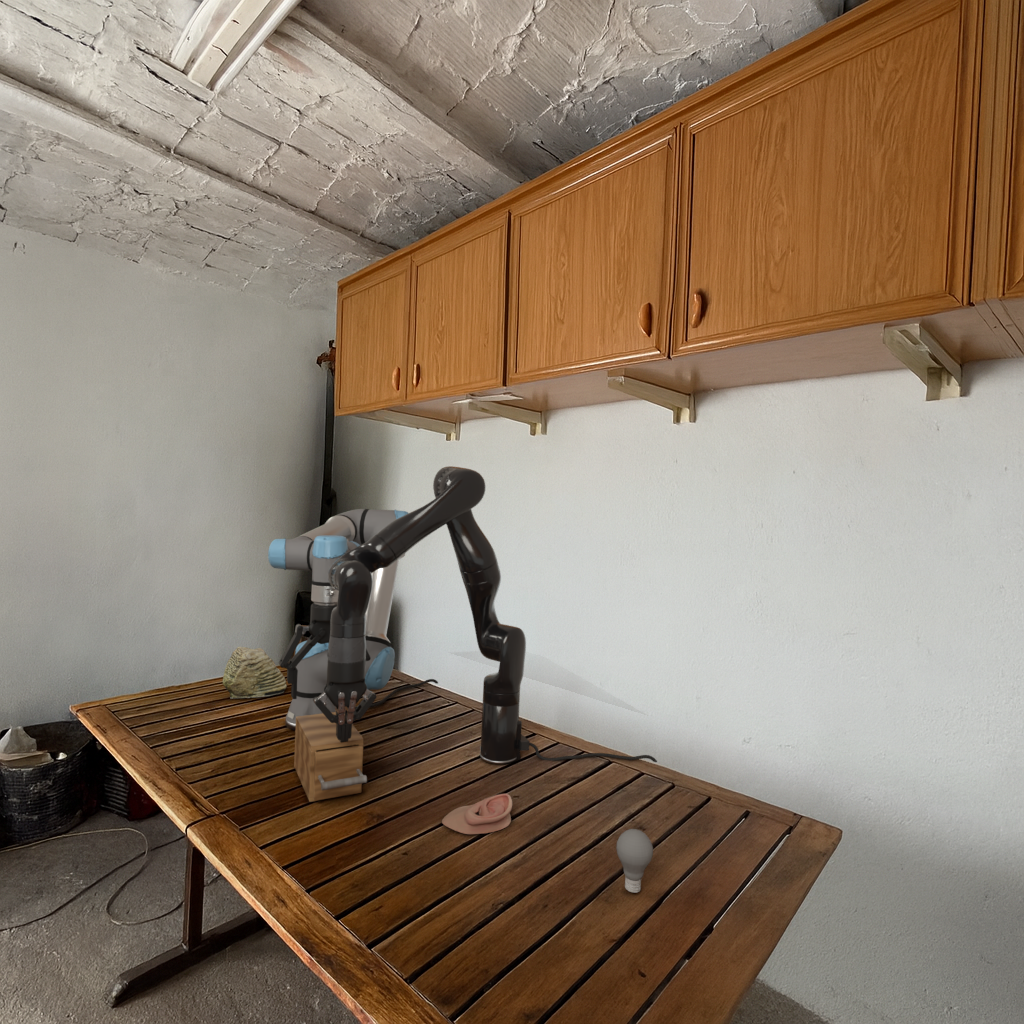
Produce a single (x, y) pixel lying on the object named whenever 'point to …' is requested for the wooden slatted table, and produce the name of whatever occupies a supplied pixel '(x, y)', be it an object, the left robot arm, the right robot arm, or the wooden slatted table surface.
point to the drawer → (338, 772)
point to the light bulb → (634, 857)
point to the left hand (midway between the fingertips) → (324, 694)
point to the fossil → (252, 674)
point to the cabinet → (316, 746)
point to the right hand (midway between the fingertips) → (343, 740)
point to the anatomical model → (481, 816)
